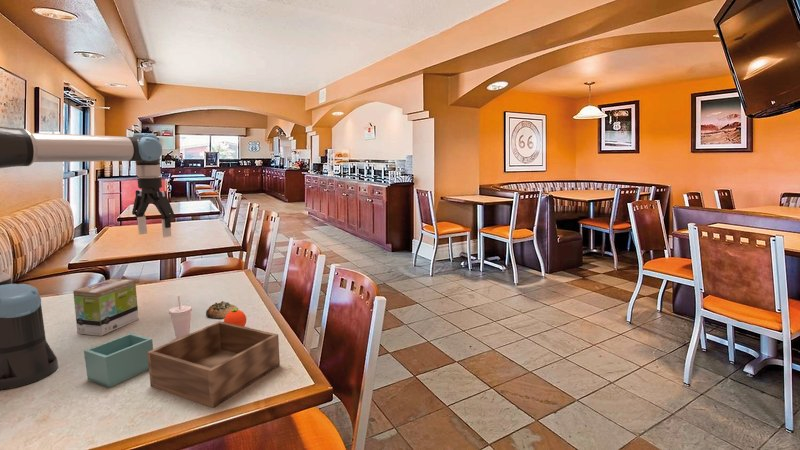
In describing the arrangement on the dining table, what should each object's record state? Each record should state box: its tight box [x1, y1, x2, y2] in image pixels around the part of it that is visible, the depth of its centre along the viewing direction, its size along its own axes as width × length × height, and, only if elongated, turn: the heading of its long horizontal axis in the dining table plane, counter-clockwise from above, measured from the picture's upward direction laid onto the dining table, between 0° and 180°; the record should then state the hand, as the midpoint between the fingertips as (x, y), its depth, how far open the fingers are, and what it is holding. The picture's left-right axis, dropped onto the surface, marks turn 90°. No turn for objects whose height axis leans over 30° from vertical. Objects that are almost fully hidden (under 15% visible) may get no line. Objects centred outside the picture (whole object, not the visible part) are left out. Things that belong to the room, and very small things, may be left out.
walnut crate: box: [147, 321, 281, 409], centre depth 111 cm, size 22×22×9 cm
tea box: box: [72, 278, 139, 337], centre depth 143 cm, size 15×10×15 cm, turn 168°
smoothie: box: [168, 295, 193, 340], centre depth 134 cm, size 6×6×14 cm
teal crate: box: [83, 332, 154, 389], centre depth 112 cm, size 12×9×8 cm
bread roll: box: [205, 300, 239, 320], centre depth 156 cm, size 11×11×5 cm
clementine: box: [223, 309, 247, 327], centre depth 141 cm, size 8×7×7 cm
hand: (154, 235), depth 157 cm, fingers open, 13 cm apart
